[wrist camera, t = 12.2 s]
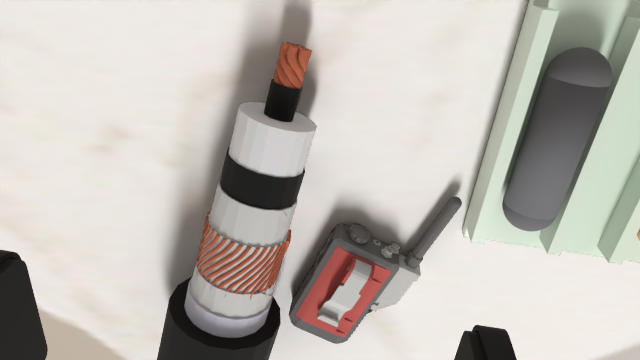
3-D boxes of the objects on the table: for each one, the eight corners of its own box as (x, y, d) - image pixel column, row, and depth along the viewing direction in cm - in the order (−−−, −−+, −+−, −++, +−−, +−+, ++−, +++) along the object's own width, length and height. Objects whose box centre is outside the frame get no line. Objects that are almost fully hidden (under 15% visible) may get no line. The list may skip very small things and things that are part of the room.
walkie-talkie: (359, 339, 49) (467, 195, 39) (357, 374, 45) (476, 223, 36) (284, 306, 48) (376, 151, 39) (276, 339, 44) (376, 175, 35)
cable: (332, 46, 39) (389, 80, 31) (243, 344, 52) (267, 425, 44) (214, 15, 35) (245, 46, 26) (148, 351, 47) (155, 442, 39)
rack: (533, -13, 31) (548, -8, 28) (810, 19, 30) (855, 27, 27) (461, 230, 41) (468, 252, 38) (672, 261, 40) (694, 285, 37)
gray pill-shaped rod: (546, 38, 32) (567, 50, 28) (605, 45, 31) (634, 58, 28) (491, 210, 38) (502, 237, 35) (540, 217, 38) (556, 245, 34)
